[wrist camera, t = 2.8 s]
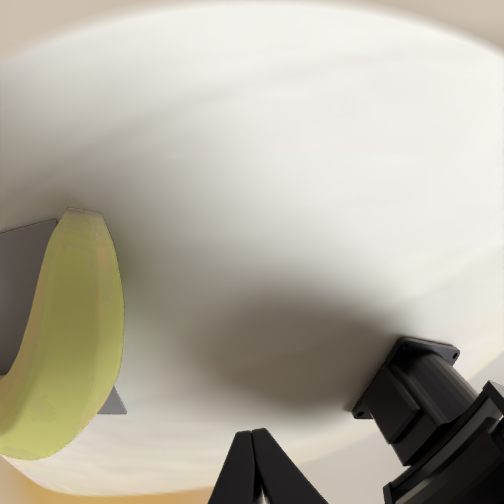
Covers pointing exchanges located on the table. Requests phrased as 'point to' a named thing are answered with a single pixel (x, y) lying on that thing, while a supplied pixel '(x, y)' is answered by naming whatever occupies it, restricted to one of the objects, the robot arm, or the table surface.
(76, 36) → the table surface
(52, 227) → the mat
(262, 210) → the table surface
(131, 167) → the table surface
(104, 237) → the banana
